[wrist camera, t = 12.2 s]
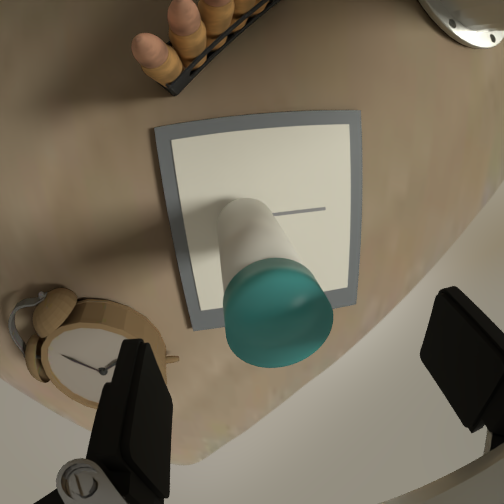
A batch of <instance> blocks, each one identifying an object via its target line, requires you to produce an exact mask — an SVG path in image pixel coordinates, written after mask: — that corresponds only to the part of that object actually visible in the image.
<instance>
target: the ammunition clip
mask: <svg viewBox="0 0 504 504" xmlns="http://www.w3.org/2000/svg"><path fill="white" fill-rule="evenodd" d="M279 1H281V0H199V2H198V7H197V6H196V5H195V3H194V2H193V1H192V0H172V2H171V4H170V6H169V8H168V15H167V18H168V23H169V34H168V35H169V38H170V41H169V42H168V43H167V44H165V43H164V42H163V41H162V40H161V39H160V38H159V37H157V36H155V35H153V34H150V33H140V34H138V35H136V36H135V37H134V38H133V40H132V45H131V49H132V53H133V56H134V57H135V59H136V60H137V61H138V62H139V63H140V65H141V68H142V70H143V71H144V72H145V74H146V75H148V76H149V77H151V78H152V79H154V80H155V81H156V82H157V83H159V84H160V85H161V86H162V87H164V88H165V89H166V90H167V91H168V92H170V93H171V94H172V95H173V96H177V95H178V94H179V93H180V92H181V91H182V90H183V89H184V88H185V87H186V86H187V85H188V83H189V82H190V81H191V80H192V79H193V78H194V77H195V76H196V75H197V74H198V73H199V72H200V71H201V70H202V69H203V68H204V67H205V66H206V65H207V64H208V63H209V62H210V61H211V60H212V59H213V58H214V57H216V56H217V55H218V54H219V53H220V52H221V51H222V50H223V49H224V48H225V47H226V46H227V45H228V44H229V43H231V42H232V41H233V40H234V39H235V38H236V37H237V36H238V35H239V34H241V33H242V32H243V31H244V30H245V29H246V28H247V27H249V26H250V25H251V24H252V23H253V22H255V21H256V20H257V19H258V18H259V17H261V16H262V15H263V14H264V13H265V12H267V11H268V10H269V9H270V8H272V7H273V6H274V5H275V4H277V3H278V2H279ZM172 46H173V48H174V49H173V48H172Z"/></svg>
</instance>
